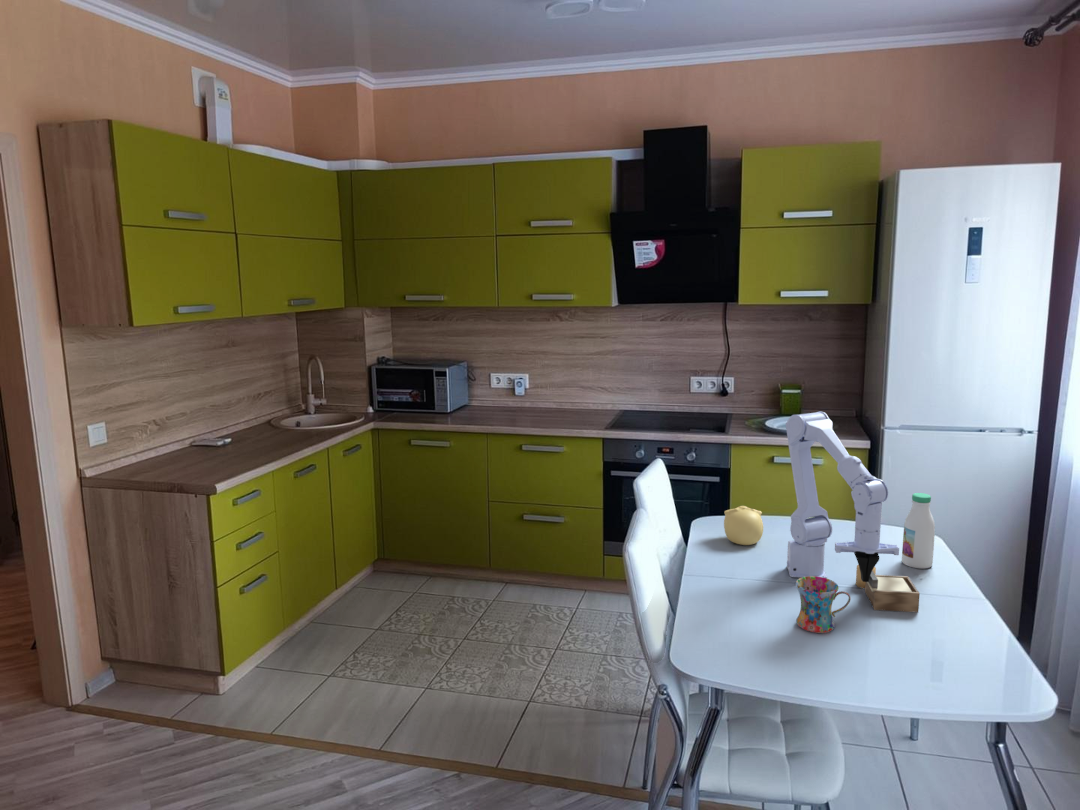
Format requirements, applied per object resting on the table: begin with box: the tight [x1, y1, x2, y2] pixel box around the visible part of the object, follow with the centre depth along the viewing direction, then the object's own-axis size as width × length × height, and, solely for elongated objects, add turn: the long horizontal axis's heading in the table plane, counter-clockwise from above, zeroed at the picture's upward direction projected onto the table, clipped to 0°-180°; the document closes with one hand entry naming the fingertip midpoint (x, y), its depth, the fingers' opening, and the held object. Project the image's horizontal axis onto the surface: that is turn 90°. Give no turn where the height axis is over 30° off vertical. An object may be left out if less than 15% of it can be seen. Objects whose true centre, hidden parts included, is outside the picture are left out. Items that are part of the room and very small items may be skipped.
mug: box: [795, 576, 852, 634], centre depth 178 cm, size 12×9×11 cm
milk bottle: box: [901, 492, 936, 570], centre depth 211 cm, size 8×8×20 cm
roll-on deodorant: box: [855, 564, 877, 590], centre depth 200 cm, size 5×5×5 cm
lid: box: [867, 571, 912, 592], centre depth 190 cm, size 9×8×3 cm
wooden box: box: [864, 574, 921, 613], centre depth 190 cm, size 10×10×5 cm
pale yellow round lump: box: [723, 505, 764, 546], centre depth 232 cm, size 11×12×11 cm
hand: (864, 580), depth 191 cm, fingers closed
